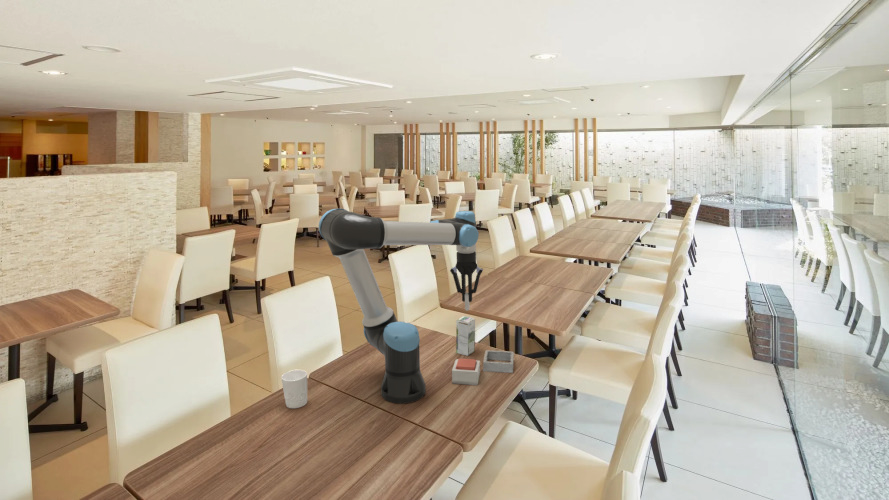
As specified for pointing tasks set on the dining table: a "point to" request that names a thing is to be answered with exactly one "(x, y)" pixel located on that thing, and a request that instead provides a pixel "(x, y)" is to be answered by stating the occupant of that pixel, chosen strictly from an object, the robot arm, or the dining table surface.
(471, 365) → the button
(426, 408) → the dining table surface
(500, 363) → the frame
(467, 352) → the syrup box
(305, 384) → the white cup
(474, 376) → the switch box
